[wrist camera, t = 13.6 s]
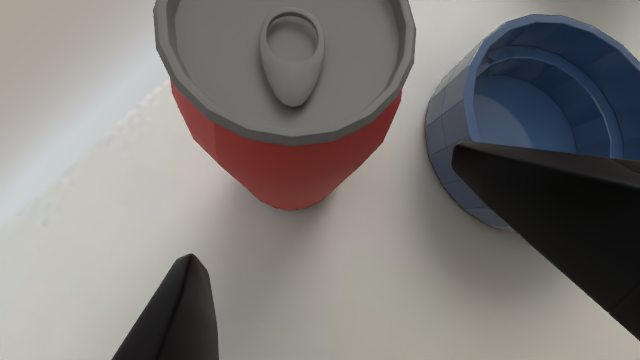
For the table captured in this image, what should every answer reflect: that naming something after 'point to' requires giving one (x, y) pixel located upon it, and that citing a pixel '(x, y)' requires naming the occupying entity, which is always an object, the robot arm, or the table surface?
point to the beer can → (287, 86)
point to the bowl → (536, 98)
